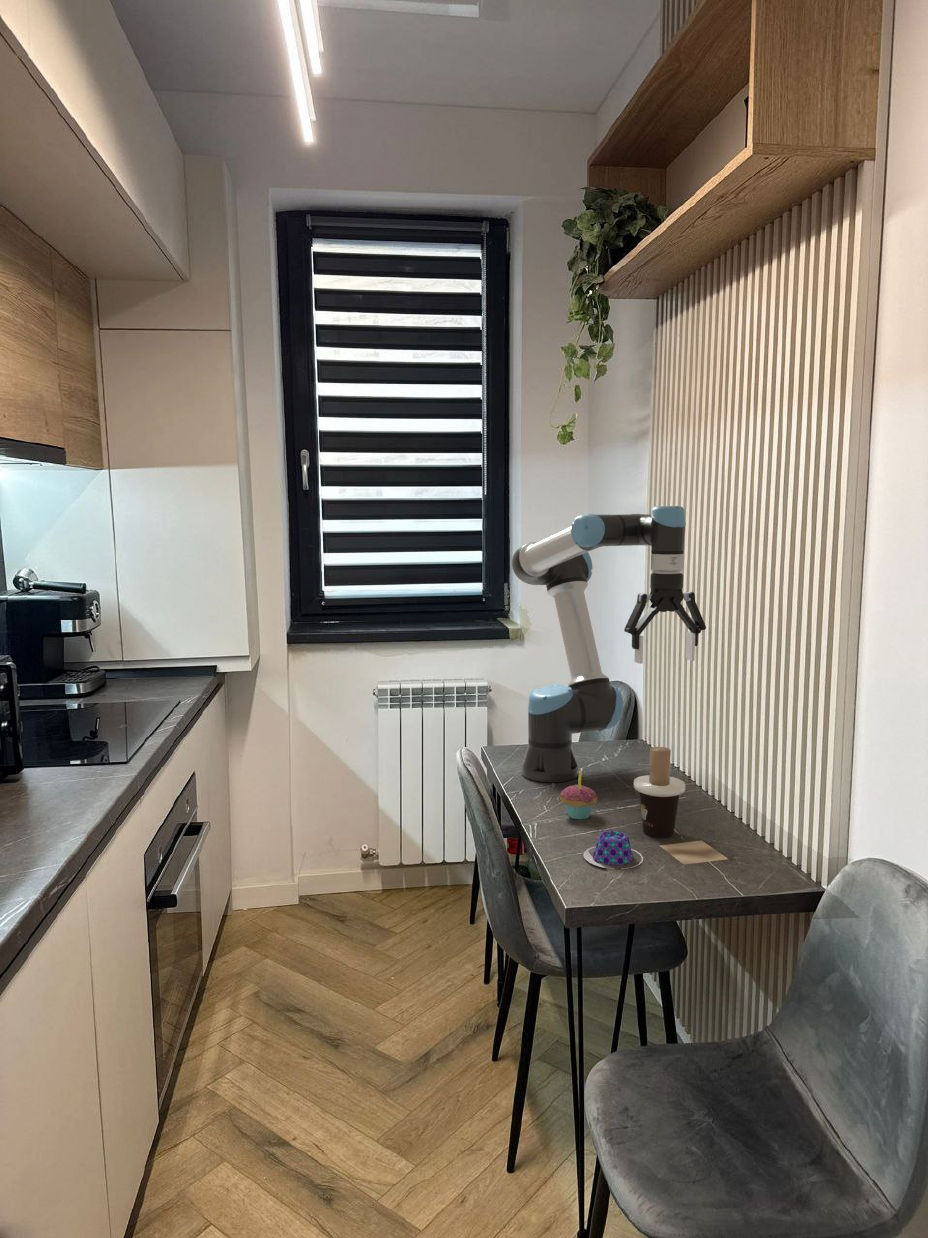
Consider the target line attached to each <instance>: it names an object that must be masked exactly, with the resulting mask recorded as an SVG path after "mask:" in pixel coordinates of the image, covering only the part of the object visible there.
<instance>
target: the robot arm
mask: <svg viewBox="0 0 928 1238" xmlns="http://www.w3.org/2000/svg"><path fill="white" fill-rule="evenodd" d="M685 511H686V510H685V508H684V507H683V506H681V505H660V506H659V505H656V506H653V508H652V509H651V514H644V513H643V514H642V513H631V514H627V513H626V514H595V513H594V514H593V513H589V514H581V515H578V516H576V517H575V518H574V521H572V523H571V526H569V527H567V528H565V529H563V530H561V531H559V532H557V533H555V534H553V535H551V536H549V537H547V538H544V539H542V540H540V541H538V542H537V541H530V542H527V543H526V544H525V543H524V544H523V545H521V546H520V547H519V548H517V549H516V550H515V552H514V554H512V555H513V556H512V559H511V567H512V570H513V573H514V575H515V576H516V577H517V578H518V580H520V581H521V582H523V583H525V584H527V585H531V586H546V590H547V594H548V595H549V596H551V597H552V598H553V600H554V603H555V608H556V612H557V618H558V622H559V627H560V632H561V636H562V641H563V644H564V649H565V655H566V660H567V666H568V668H569V669H568V670H569V673H570V678H571V679H570V681H569V683H568V684H567V685H565V684H557V685H556V684H555V685H545V686H541V687H537V688H535V689H534V690H533V691H532V692H531V693H530V694H529V697H528V704H527V705H528V706H527V711H528V716H527V717H528V720H527V722H528V723H527V726H528V727H527V730H528V733H527V737H528V738H527V741H528V742H527V744H528V745H527V748H526V752H525V754H524V757H523V761H522V764H521V775H522V776H523V777H524V778H525V779H529V780H531V781H536V782H542V783H562V782H563V783H564V782H567V781H572V780H574V779H576V778H577V777H579V765H578V762H577V760H576V759H577V758H576V756H575V752H574V750H573V745H572V744H573V741H572V740H573V734H581V733H588V732H595V731H598V732H601V731H604V730H608V729H611V728H612V729H613V728H614V727H616V726H617V725H618V724H619V722H620V721H621V718H622V716H623V714H624V699H623V698H624V697H623V695H622V694H623V693H622V692H621V691H620V690H619V688H618V687H616V686H614V685H613V684H612V685H611V681H610V678H609V677H608V676H607V675H605V674H604V673H603V672H602V667H601V662H600V657H599V653H598V649H597V645H596V640H595V635H594V631H593V626H592V621H591V619H590V618H591V617H590V613H589V612H590V611H589V609H588V604H587V599H586V594H585V592H586V589H587V588H588V586H589V583H588V582H589V580H591V577H592V575H593V571H592V570H593V562H592V558H591V556H590V555H591V554H590V553H589V552H590V551H594V550H596V549H598V548H601V547H626V546H630V547H631V546H650V547H651V549H650V571H652V572H651V574H650V580H649V581H650V583H649V584H650V585H649V587H650V593H648V594H647V593H645V592H644V593H643V592H639V593H637V598H636V603H635V605H634V607H633V610H632V612H631V613H630V616H629V619H628V620H627V622H626V625H625V627H624V629H623V630H624V633H627V634H630V635H631V648H632V649H633V650H634V663H636V664H644V663H643V662H644V636H643V635H641V634H643V632H644V630H645V629H646V627H647V626H648V625H649V623H651V621H652V620H653V618H654V617H655V616H656V615H657V614H659V613H660V612H661V613H666V612H672V613H673V612H674V613H676V615H678V617H679V618H680V620H681V621H682V622H683V624H684V625H685V626H686V627H687V629H688V630H689V631H688V632H686V643H685V659H686V660H688V661H691V662H692V661H693V662H694V661H695V654H696V647H698V646H699V645H698V644H699V634H701V632H702V631H705V630H706V629H707V626H706V623H705V621H704V619H703V617H702V614H701V611H700V610H699V606H698V604H697V602H696V594H695V592H693V591H688V590H687V591H685V592H683V588H684V574H683V573H682V571H683V570H684V564H685V563H684V562H685V561H684V559H685V558H684V557H685V555H684V554H685V538H686V537H685V535H686V533H685V532H686V530H685V529H686V516H685V515H686V514H685V513H686V512H685ZM683 600H684V602H685V604H686V606H687V608H688V611H689V613H690V615H689V614H688V612H687V611H686V609H685V608H684V606H683V604H682V602H683ZM649 601H650V605H649V606H648V607H647V610H646V611H645V612H644V610H645V608H646V606H647V603H649ZM643 612H644V614H643ZM642 614H643V615H642ZM690 616H691V617H690Z"/></svg>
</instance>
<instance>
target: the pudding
mask: <svg viewBox="0 0 928 1238" xmlns="http://www.w3.org/2000/svg"><path fill="white" fill-rule="evenodd" d="M592 849H594V852H593V854H592V853H591V852H590V850H592ZM633 852H636V853H637V854H638V855H639V856H640V857H641V858H640V859H641V861H640V862H639V864H636V865H634V866H632V867H629V869H630V868H635V867H638V866H640V864H642V863H643V861H644V856H643V855H642V853H641V852H639V851H637V850H635V849H633V848H632V847H631V842H630V838H629V836H627V834H625V833H624V832H621V831H616V830H609V831H608V830H607V831H603V832H602V833H600V834H599V835H598V837H597V840H596V844H595V846H592V847H589V848H587V849H586V850H584V852H583V858H584V859H585V860H586V861H587V862H588V863H589V864H591V865H594V866H596V867H600V868H604V869H607V867H606V866H605V865H616V866H622V865H625V864H630V863H632V861H633V860H632V859H633V858H634V856H633V855H634V854H633ZM601 863H602V864H605V865H602V864H601ZM610 869H611V870H612V869H613V870H614V868H610V867H609V870H610ZM624 869H627V867H626V868H622V870H624Z"/></svg>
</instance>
